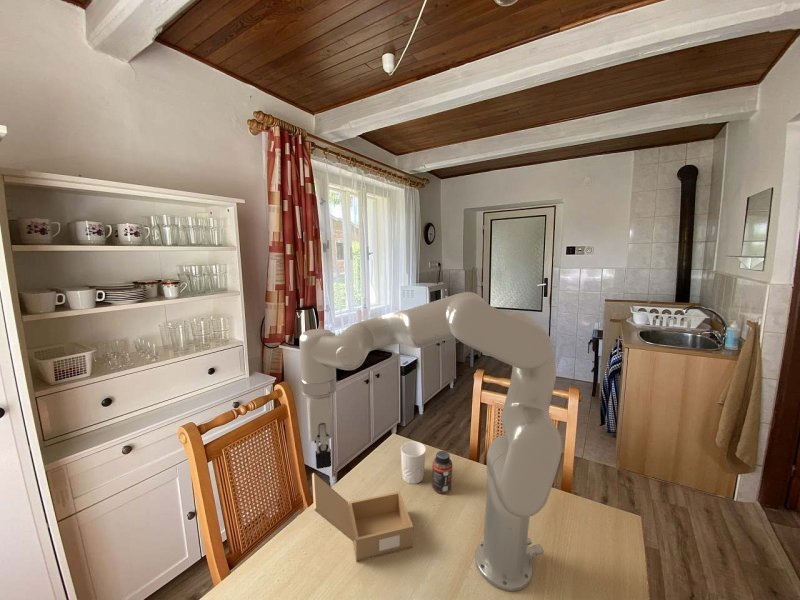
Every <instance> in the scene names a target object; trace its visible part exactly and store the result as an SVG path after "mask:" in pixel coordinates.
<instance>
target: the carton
mask: <svg viewBox="0 0 800 600" xmlns="http://www.w3.org/2000/svg"><path fill="white" fill-rule="evenodd" d="M348 503H349V509H350V514H351V519H352V525H353V530H354V536H355V541H354V542H353V541H352V544H353V550H354V556H355V560H356V563H357V562H361V561H366V560H370V559H372V558H377V557H380V556H384V555H388V554H394V553H396V552H400V551H404V550H407V549H412V548H414V525H413V522H412V520H411V517H410V514H409V513H408V512H409V511H408V510H407V507H406V505H405V502H404V499H403V497H402V495H401V492H400V491H397V492H390V493H386V494H382V495H377V496H372V497H367V498H362V499H357V500H353V501H348Z"/></svg>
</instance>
